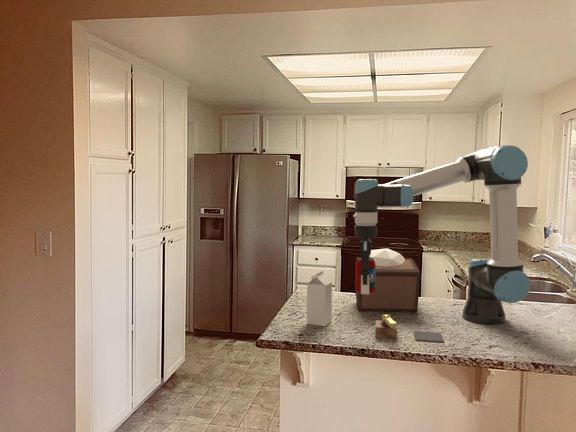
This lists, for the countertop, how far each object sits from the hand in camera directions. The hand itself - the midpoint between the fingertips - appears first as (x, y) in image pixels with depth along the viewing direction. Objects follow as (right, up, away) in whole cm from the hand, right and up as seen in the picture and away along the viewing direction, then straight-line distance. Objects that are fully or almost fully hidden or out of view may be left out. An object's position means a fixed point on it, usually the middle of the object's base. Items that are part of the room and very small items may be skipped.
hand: (365, 291), depth 159 cm
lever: (+7, -10, -4) cm, 13 cm away
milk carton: (-15, -14, +12) cm, 24 cm away
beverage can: (0, -1, 0) cm, 1 cm away
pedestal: (+7, -15, 0) cm, 16 cm away
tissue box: (+14, -12, +39) cm, 43 cm away
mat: (+21, -15, -3) cm, 26 cm away
